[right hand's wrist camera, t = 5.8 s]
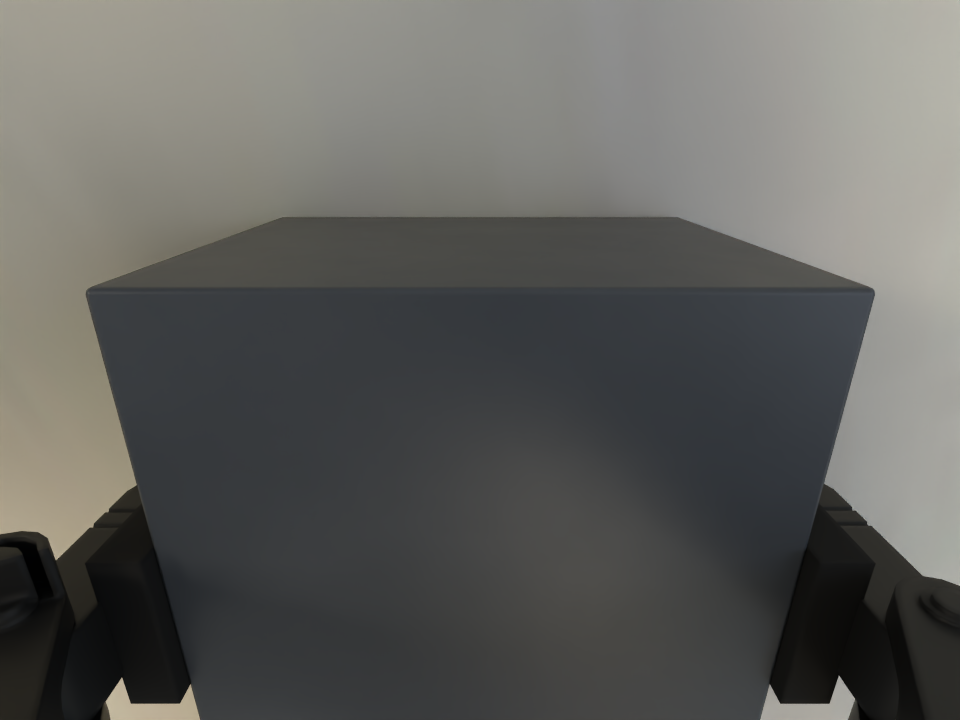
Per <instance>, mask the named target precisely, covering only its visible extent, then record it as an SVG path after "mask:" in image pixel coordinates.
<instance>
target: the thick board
mask: <svg viewBox="0 0 960 720" xmlns="http://www.w3.org/2000/svg"><path fill="white" fill-rule="evenodd" d="M874 296H875V293H874V290H873V289H872V288H870V287H868V286H865V285H862V284H860V283H857V282H854V281H851V280H849V279H846V278H843V277H840V276H838V275H835V274H832V273H829V272H827V271H824V270H821V269H818V268H816V267H813V266H810V265H807V264H805V263H802V262H799V261H796V260H794V259H791V258H788V257H785V256H783V255H780V254H777V253H774V252H771V251H769V250H766V249H763V248H760V247H758V246H755V245H752V244H749V243H747V242H744V241H741V240H738V239H736V238H733V237H730V236H727V235H725V234H722V233H719V232H716V231H714V230H711V229H708V228H705V227H703V226H700V225H697V224H694V223H692V222H689V221H686V220H683V219H681V218H678V217H282V218H280V219H277V220H274V221H271V222H269V223H266V224H263V225H260V226H258V227H255V228H252V229H249V230H247V231H244V232H241V233H238V234H236V235H233V236H230V237H227V238H225V239H222V240H219V241H216V242H214V243H211V244H208V245H205V246H203V247H200V248H197V249H194V250H192V251H189V252H186V253H183V254H181V255H178V256H175V257H172V258H170V259H167V260H164V261H161V262H159V263H156V264H153V265H150V266H148V267H145V268H142V269H139V270H137V271H134V272H131V273H128V274H126V275H123V276H120V277H117V278H115V279H112V280H109V281H106V282H104V283H101V284H98V285H95V286H93V287H90V288H88V289H87V290H86V297H87V301H88V305H89V308H90V312H91V316H92V320H93V323H94V327H95V331H96V334H97V338H98V342H99V346H100V349H101V353H102V357H103V360H104V364H105V368H106V372H107V375H108V379H109V383H110V386H111V390H112V394H113V398H114V401H115V405H116V409H117V412H118V416H119V420H120V423H121V427H122V431H123V435H124V438H125V442H126V446H127V449H128V453H129V457H130V461H131V464H132V468H133V472H134V475H135V479H136V483H137V487H138V490H139V494H140V498H141V501H142V505H143V509H144V512H145V516H146V520H147V524H148V527H149V531H150V535H151V538H152V542H153V546H154V550H155V553H156V557H157V561H158V564H159V568H160V572H161V576H162V579H163V583H164V587H165V590H166V594H167V598H168V601H169V605H170V609H171V613H172V616H173V620H174V624H175V627H176V631H177V635H178V639H179V642H180V646H181V650H182V653H183V657H184V661H185V665H186V668H187V672H188V676H189V679H190V683H191V687H192V691H193V694H194V698H195V702H196V705H197V709H198V713H199V716H200V720H760V718H761V714H762V710H763V707H764V703H765V699H766V696H767V692H768V688H769V684H770V681H771V677H772V673H773V670H774V666H775V662H776V659H777V655H778V651H779V647H780V644H781V640H782V636H783V633H784V629H785V625H786V622H787V618H788V614H789V610H790V607H791V603H792V599H793V596H794V592H795V588H796V585H797V581H798V577H799V573H800V570H801V566H802V562H803V559H804V555H805V551H806V548H807V544H808V540H809V536H810V533H811V529H812V525H813V522H814V518H815V514H816V511H817V507H818V503H819V499H820V496H821V492H822V488H823V485H824V481H825V477H826V474H827V470H828V466H829V462H830V459H831V455H832V451H833V448H834V444H835V440H836V437H837V433H838V429H839V425H840V422H841V418H842V414H843V411H844V407H845V403H846V400H847V396H848V392H849V388H850V385H851V381H852V377H853V374H854V370H855V366H856V363H857V359H858V355H859V351H860V348H861V344H862V340H863V337H864V333H865V329H866V326H867V322H868V318H869V314H870V311H871V307H872V303H873V300H874Z"/></svg>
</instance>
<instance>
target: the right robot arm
mask: <svg viewBox="0 0 960 720" xmlns="http://www.w3.org/2000/svg"><path fill="white" fill-rule="evenodd" d="M838 676H840V677H841V679H842V680H843V682H844V683H845V685H846V686H847V688H848V689H849V690H850V692H851V693H852V695H853V696H854V698H855V702H854V704H853V707H852V710H851V713H850V716H849V719H848V720H960V586H958V585H956V584H953V583H950V582H947V581H945V580H942V579H936V578H930V577H925V576H922V575H921V574H920V573H919V572H918V571H917V570H916V569H915V568H914V567H913V566H912V565H911V564H910V563H909V562H908V561H907V560H906V559H905V558H904V557H903V556H902V555H901V554H900V553H899V552H898V551H897V550H895V549H894V548H893V547H892V546H891V545H890V544H889V543H888V542H887V541H886V540H885V539H884V538H883V537H882V536H881V535H880V534H879V533H878V532H877V531H876V530H875V529H874V528H873V527H872V526H868V525H867V521H866V520H865V519H864V518H863V517H862V516H860V515H859V514H858V513H857V512H856V511H852V507H851V506H850V505H849V504H848V503H847V502H846V501H845V500H844V499H843V498H842V497H841V496H840V495H839V494H838V493H837V492H836V491H835V490H834V489H832V488H830V487H829V486H827V485H825V484H824V485H823V488H822V492H821V496H820V499H819V503H818V507H817V511H816V514H815V518H814V522H813V525H812V529H811V533H810V536H809V540H808V544H807V548H806V551H805V555H804V559H803V562H802V566H801V570H800V573H799V577H798V581H797V585H796V588H795V592H794V596H793V599H792V603H791V607H790V610H789V614H788V618H787V622H786V625H785V629H784V633H783V636H782V640H781V644H780V647H779V651H778V655H777V659H776V662H775V666H774V670H773V673H772V677H771V681H770V685H771V687H772V689H773V691H774V693H775V694H776V696H777V698H778V700H779V702H780V704H829V703H830V700H831V697H832V694H833V691H834V688H835V685H836V682H837V679H838ZM121 678H123V681H124V684H125V687H126V690H127V693H128V696H129V699H130V702H131V704H180V702H181V701H182V699H183V697H184V695H185V693H186V691H187V689H188V688H189V686H190V684H191V683H190V679H189V676H188V672H187V668H186V665H185V661H184V657H183V653H182V650H181V646H180V642H179V639H178V635H177V631H176V627H175V624H174V620H173V616H172V613H171V609H170V605H169V601H168V598H167V594H166V590H165V587H164V583H163V579H162V576H161V572H160V568H159V564H158V561H157V557H156V553H155V550H154V546H153V542H152V538H151V535H150V531H149V527H148V524H147V520H146V516H145V512H144V509H143V505H142V501H141V498H140V494H139V490H138V487H137V486H135V487H133V488H132V489H130V490H128V491H127V492H126V493H125V494H124V495H123V496H122V497H121V498H120V499H119V500H118V501H117V502H116V503H115V504H114V505H113V506H112V507H111V508H110V509H109V512H108V513H104V514H103V515H102V516H101V517H100V518H99V519H98V520H97V521H96V522H95V523H94V527H93V528H89V529H88V530H87V531H86V532H85V533H84V534H83V535H82V536H81V537H80V538H79V539H78V540H77V541H76V542H75V543H74V544H73V545H72V546H71V547H70V548H69V549H68V550H67V551H66V552H65V553H64V554H63V555H62V556H60V557H59V558H58V559H57V560H55V558H54V555H53V552H52V549H51V546H50V543H49V541H48V538H47V537H45V536H43V535H42V534H40V533H38V532H26V531H19V532H13V533H7V534H0V720H110V715H109V710H108V707H107V704H106V702H105V701H106V700H107V698H108V697H109V695H110V694H111V692H112V691H113V689H114V688H115V687H116V685H117V684H118V682H119V681H120V679H121Z"/></svg>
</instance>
